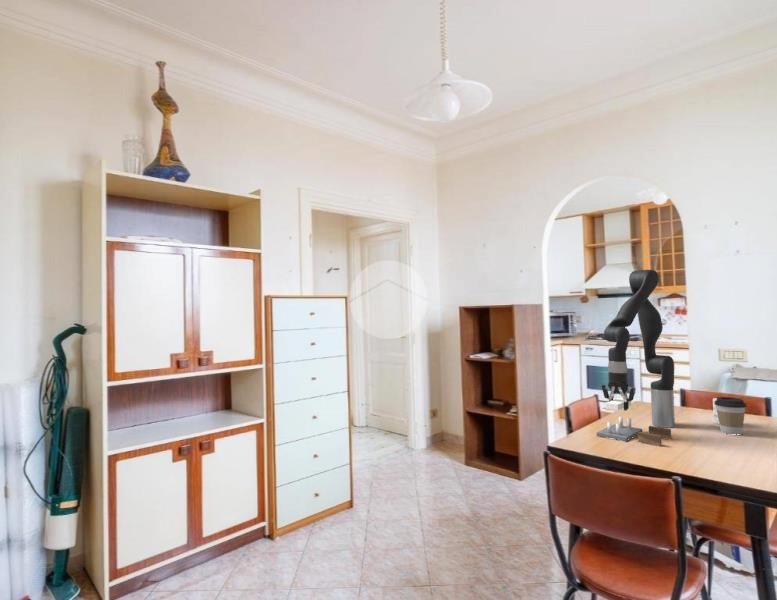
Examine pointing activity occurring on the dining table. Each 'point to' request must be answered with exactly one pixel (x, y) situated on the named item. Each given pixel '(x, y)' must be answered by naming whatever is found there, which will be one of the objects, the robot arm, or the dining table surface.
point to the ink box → (715, 411)
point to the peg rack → (619, 430)
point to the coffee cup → (730, 414)
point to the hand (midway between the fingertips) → (618, 409)
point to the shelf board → (616, 404)
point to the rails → (654, 435)
